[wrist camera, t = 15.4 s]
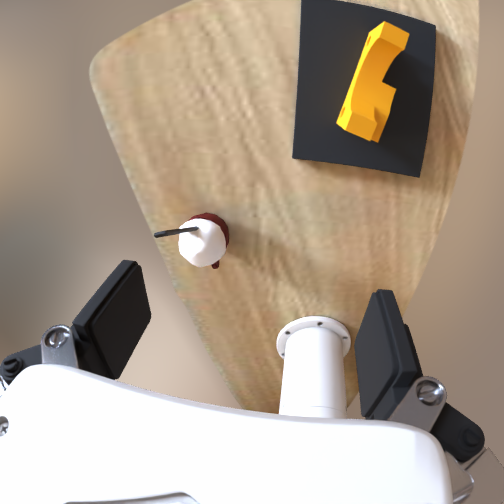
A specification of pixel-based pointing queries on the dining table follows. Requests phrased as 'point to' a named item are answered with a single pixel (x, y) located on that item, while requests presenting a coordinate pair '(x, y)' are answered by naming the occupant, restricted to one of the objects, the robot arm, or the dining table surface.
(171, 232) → the cocoa
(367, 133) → the pipe clamp
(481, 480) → the robot arm
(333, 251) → the dining table surface
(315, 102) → the mat
